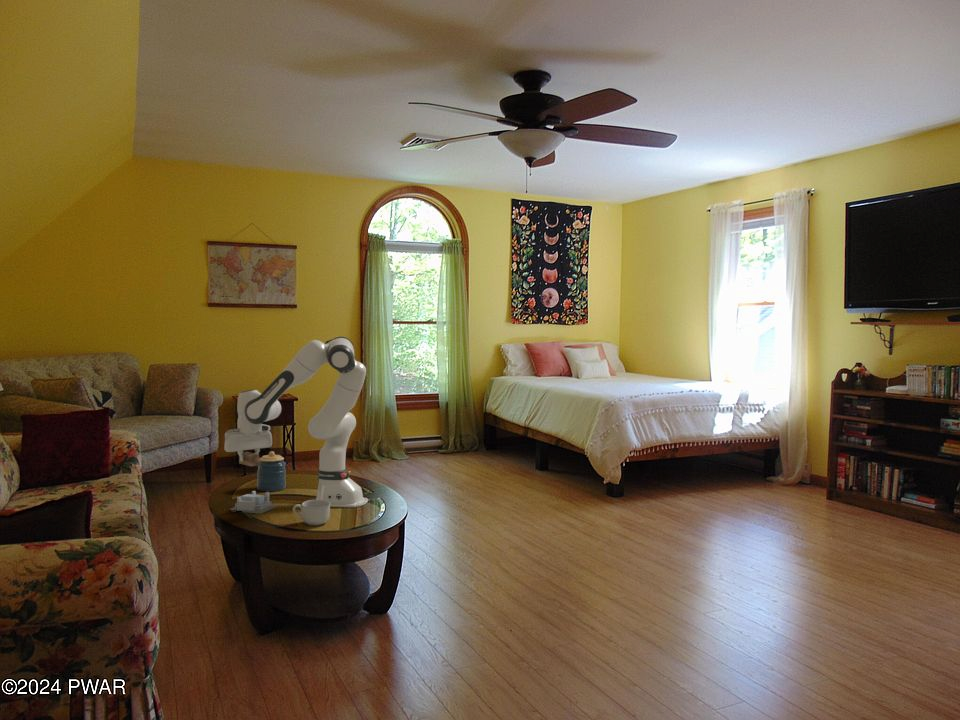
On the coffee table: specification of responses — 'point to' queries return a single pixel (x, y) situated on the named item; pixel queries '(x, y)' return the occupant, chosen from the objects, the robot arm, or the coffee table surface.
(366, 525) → the coffee table surface
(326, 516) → the teacup
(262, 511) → the jig
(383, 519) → the coffee table surface
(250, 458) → the tan cardboard carton
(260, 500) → the pale grey upright block
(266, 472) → the canister
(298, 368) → the robot arm
